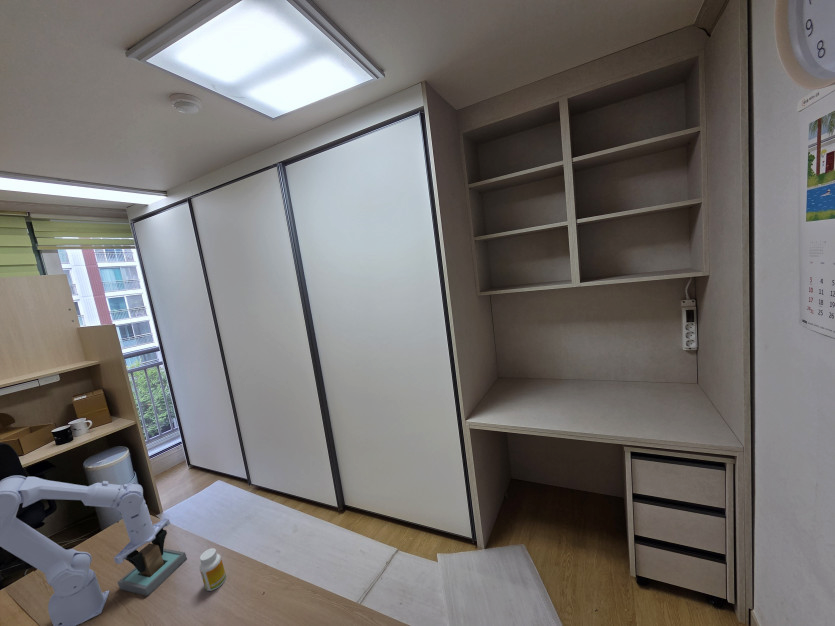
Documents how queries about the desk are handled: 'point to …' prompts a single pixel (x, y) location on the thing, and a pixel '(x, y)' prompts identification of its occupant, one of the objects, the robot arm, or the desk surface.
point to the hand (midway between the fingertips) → (151, 562)
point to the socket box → (148, 585)
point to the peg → (151, 559)
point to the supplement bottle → (212, 569)
